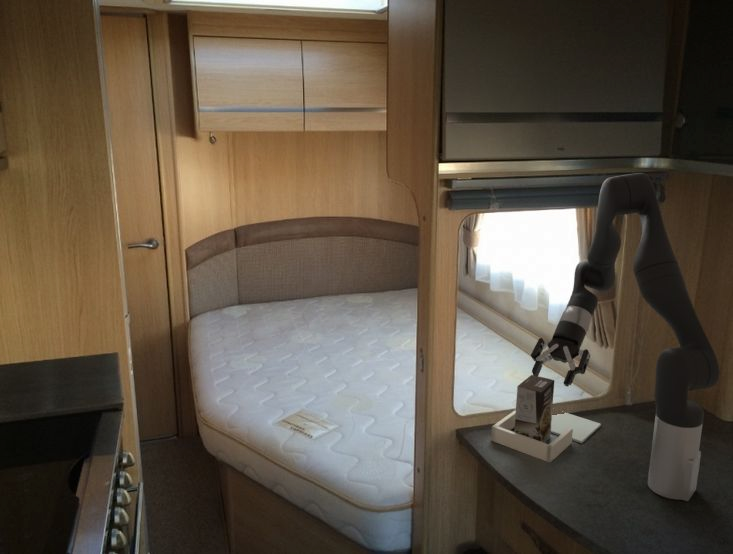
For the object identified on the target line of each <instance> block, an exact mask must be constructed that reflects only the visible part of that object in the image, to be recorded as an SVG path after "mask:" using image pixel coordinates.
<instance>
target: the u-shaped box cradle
mask: <svg viewBox="0 0 733 554" xmlns="http://www.w3.org/2000/svg"><path fill="white" fill-rule="evenodd" d="M515 415H516V409H514V410H513V411H511V412H510V413H509V414H508V415H506V416H505V417H502V419H500V420H499V421H498V422H496V423H495V424H493V425H492V426H491V439H490V440H492V441H491V442H494V443H496V444H498V445H499V444H500V445H501V446H502V445H503V446H505V447H508V448H509V449H513V450H515V451H518V452H520V453H524V454H527V455H528V456H531V457H534V458H536V459H539V460H542V461H545V462H547V463H552V462H553V460H555V459H556V458H557V457H558V456H559V455H560V454H562V453H563V451H565V450H566V449H567V448H568V447H570V445H571V444H572V442H573V440H572V433H573V429H572V428H568V429H567V430H566V431H564V432H563V433H562V434H561V435H560V436H559V435H558V436H557V437H556V438H555V439H554V440H553V441H551V442H550V443H549V444H548V443H546V442H545V443H543V442H540V441H538V440H535V439H532V438H529V437H526V436H524V435H521V434H518V433H515V432H514V431H513V429H515Z"/></svg>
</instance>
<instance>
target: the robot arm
mask: <svg viewBox="0 0 733 554" xmlns="http://www.w3.org/2000/svg"><path fill="white" fill-rule="evenodd" d="M600 187H601V188H600V192H599V195H598V204H597V211H596V219H595V229H594V235H593V239H592V241H591V244H590V247H589V249H588V253H587V257H586V258H587V259H582V260H581V261H579V262H578V263H577V265H576V266H575V270H574V279H573V288H572V292H571V295H570V298H569V300H568V303H567V304H566V307H565V309H564V311H563V312H562V313H561V314H562V315H560V316H561V317H560V319H559V321H558V323H557V325H556V328H555V330H554V332H553V335H552V338H551V340H550V341H547V340H544V338H542V337H540V338H538V340H537V342H536V344H535V345H534V348H533V350H532V352H531V354H530V358H532V360H533V362H535V363H534V364H533V367H532V369H531V373H532V375H534V376H538V377H539V375H540V373H541V370H542V368H543V365H544V364H545V363H547V362H551V361H555V362H561V363H563V364H566V363H568V367H569V369H570V370H568V371H567V373H566V375H565V377H564V380H563V385H564V387H566V388H567V387H569V386H571V385H572V384H573V382H574V379H575V377H576V375H578V374H581V375H584V374H586V370H587V368H588V365H589V362H590V358H591V354H590V351H589V350H588V349H587V348H585V349H584V350H583V349H581V347H582V345H583V342H584V340H585V339H586V335H587V333H588V331H589V330H590V329H589V328H590V324H591V321H592V318H593V315H594V313H595V310H596V308H597V307H598V302H599V298H598V297H597V295H595V294H594V293H593V292H592V291H590V290H589V289H587V288H590V289H592V290H595V291H598V292H602V293H603V292H604V293H605V292H608V291H609V290H611V289H612V287H613V286H614V283H615V280H616V259H617V257H618V256H619V255H618V254H619V252H620V250H621V246H622V238H621V235H620V233H619V231H618V230H617V228H616V226H615V224H614V220H615V219H616V217H617V216H624V215H631V214H632V215H633V214H638V216H639V219H640V223H641V229H642V230H641V236H640V241H639V244H638V247H637V250H636V252H635V256H634V260H633V266H632V270H633V274H634V276H635V279H636V283H637V285H638V289H639V291H640V294H641V296H642V298H643V299H644V301H645V302H646V303H647V304H648V306H650V307H651V309H653V310H654V311H655V312H656V313H657V314H658V315H659V316H660V317H661V318H662V319H663V320H664V321H665V322H666V323H667V324H668V326H669V327H671V330H672V331H673V333H674V335H675V336H676V339H677V342H678V345H679V346H678V347H677V346H676V347H669V348H666V349H663V350H662V351H661V352H660V354H659V355H658V358H657V360H656V367H655V383H654V403H655V409H656V410H655V419H654V427H653V435H652V442H651V452H650V458H649V459H650V460H649V468H648V474H647V486H648V487H649V490H651V491H652V492H653V493H655V494H657V495H659V496H660V497H663V498H667V499H671V500H677V501H678V500H681V501H685V502H689V500H690V499H691V497H692V496H693V495H694V493H695V492H696V490H697V484H698V478H699V471H700V465H701V463H700V462H701V456H702V451H701V450H700V445H701V437H702V431H703V424H704V417H705V411H704V409H703V408H702V406H701V405H699V404H698V403H696V402H695V401H693V400H691V399H688V397H689V396H688V395H689V394H688V393H689V392H690V391H691V392H692V391H697V390H705V389H710V388H713V387H715V386H716V385H717V383H718V382H719V379H720V374H721V373H720V365H719V362H718V358H717V356H716V353H715V351H714V348H713V346H712V345H711V342H710V341H709V338H708V336H707V334H706V332H705V330H704V328H703V326H702V324H701V322H700V319H699V317H698V315H697V313H696V310H695V307H694V305H693V303H692V300H691V296H690V294H689V292H688V288H687V286H686V282H685V279H684V277H683V273H682V270H681V268H680V265H679V262H678V260H677V257H676V255H675V253H674V250H673V248H672V244H671V241H670V239H669V236H668V233H667V230H666V227H665V224H664V220H663V215H662V212H661V208H660V204H659V203H660V202H659V201H658V200H659V199H658V195H657V193H656V190H655V186H654V183H653V181H652V180H651V178H650V177H649V175H648V174H646V173H644V172H637V173H628V174H622V175H615V176H612V177H608V178H606V179H605V180H604V181H603V182H602V185H601V186H600ZM586 287H587V288H586ZM546 348H547V349H546ZM545 349H546V350H545ZM543 350H545V351H543ZM578 356H579V357H580V360H579V363H578V365H577V366H576V363H575V360H574V359H575V358H576V357H578Z"/></svg>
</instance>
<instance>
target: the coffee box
mask: <svg viewBox="0 0 733 554" xmlns="http://www.w3.org/2000/svg"><path fill="white" fill-rule="evenodd" d="M516 388H517V390H516V400H515V401H516V404H515V410H516V415H515V427H514V431H513V432H515V433H518V434H521V435H524V436H526V437H529V438H532V439H535V440H538V441H540V442H543V443H546V442H547V441H548V440H549V439H550V438H551V434H552V433H551V420H552V408H553V407H554V405H553V404H554V390H555V379H552V378H548V377H544V376H543V377H542V376H539V375H538V376H534V375H533V374H531V375H530V376H528V377H527V378H526V379H525V380H523V381H522V382H521V383H519V384H518V385H517V386H516Z"/></svg>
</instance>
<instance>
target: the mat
mask: <svg viewBox="0 0 733 554" xmlns="http://www.w3.org/2000/svg"><path fill="white" fill-rule="evenodd" d="M601 426H602V424H601V423H600V422H597V421H594V420H590V419H587V418H585V417H582V416H581V417H580V416H577V415H576V414H575V415H574V414H571V413H568V412H565V413H564V414H557V415H552V420H551V434H553V435H557V436H558V437H559V436H560V435H561V434H562V433H563V432H564V431H566V430H567V429H568V428H572V429H573V433H572V442H577V443H580V444H583V443H584V442H585V441H586V440H588V438H589V437H591V436H592V435H593V434H594V433H595V432H596V431H597V430H598V429H600V428H601Z"/></svg>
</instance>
